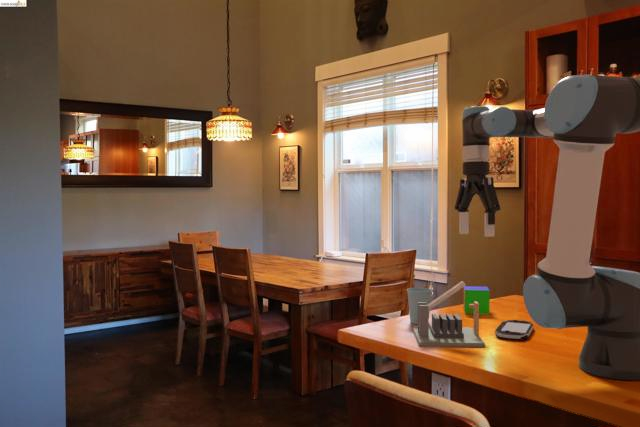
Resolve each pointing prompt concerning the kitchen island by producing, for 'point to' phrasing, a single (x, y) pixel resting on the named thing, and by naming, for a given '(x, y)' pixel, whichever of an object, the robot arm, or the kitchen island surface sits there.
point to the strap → (446, 294)
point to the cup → (415, 297)
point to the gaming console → (514, 330)
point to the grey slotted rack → (446, 329)
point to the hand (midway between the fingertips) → (476, 235)
